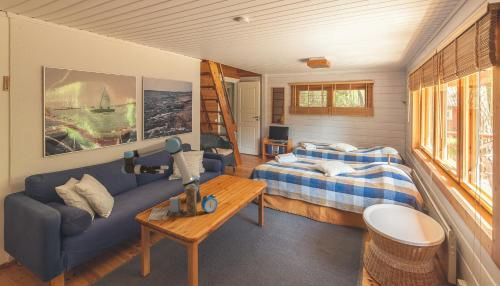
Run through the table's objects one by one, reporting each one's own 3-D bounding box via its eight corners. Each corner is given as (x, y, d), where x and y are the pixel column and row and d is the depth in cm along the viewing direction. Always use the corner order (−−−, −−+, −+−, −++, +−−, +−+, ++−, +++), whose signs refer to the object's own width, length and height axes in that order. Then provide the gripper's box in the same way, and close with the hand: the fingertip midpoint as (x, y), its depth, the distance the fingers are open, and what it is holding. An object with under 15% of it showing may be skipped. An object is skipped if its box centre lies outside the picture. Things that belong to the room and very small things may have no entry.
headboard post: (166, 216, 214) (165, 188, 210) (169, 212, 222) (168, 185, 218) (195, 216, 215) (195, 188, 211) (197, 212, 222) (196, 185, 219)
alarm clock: (203, 214, 218) (203, 197, 215) (200, 212, 223) (200, 195, 220) (217, 211, 225) (217, 194, 223) (214, 208, 230) (214, 192, 228)
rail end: (170, 215, 216) (169, 199, 213) (171, 213, 220) (170, 197, 218) (179, 215, 216) (179, 199, 214) (181, 213, 220) (180, 197, 218)
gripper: (146, 169, 238) (170, 169, 238) (135, 177, 213) (161, 177, 214) (146, 161, 236) (169, 161, 237) (134, 168, 212) (161, 168, 212)
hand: (165, 169), depth 225 cm, fingers open, 13 cm apart
